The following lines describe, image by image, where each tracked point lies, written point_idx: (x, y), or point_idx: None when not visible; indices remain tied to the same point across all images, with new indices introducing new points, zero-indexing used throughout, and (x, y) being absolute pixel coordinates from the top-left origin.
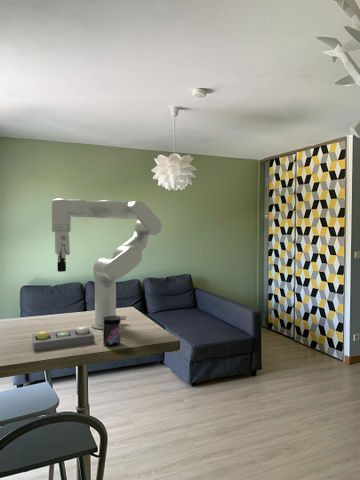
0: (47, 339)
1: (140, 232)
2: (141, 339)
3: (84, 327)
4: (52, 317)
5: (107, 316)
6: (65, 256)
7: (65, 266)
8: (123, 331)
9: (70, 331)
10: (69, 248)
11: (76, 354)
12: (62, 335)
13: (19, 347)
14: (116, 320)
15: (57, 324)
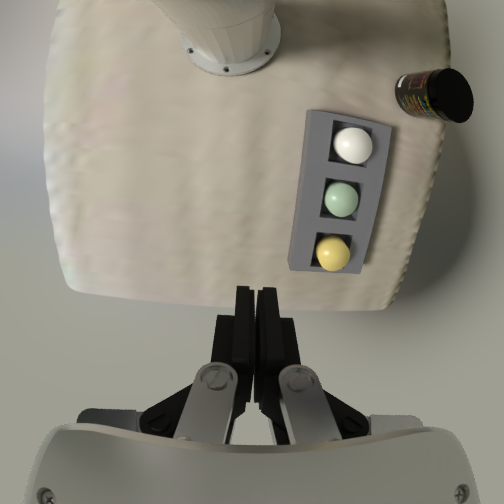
0: (355, 244)
1: None
2: (410, 24)
3: (353, 137)
4: (68, 182)
5: (437, 95)
6: (337, 433)
7: (278, 321)
8: (325, 15)
9: (321, 172)
10: (478, 498)
11: (424, 192)
12: (355, 206)
13: (310, 286)
14: (471, 98)
15: (143, 174)
